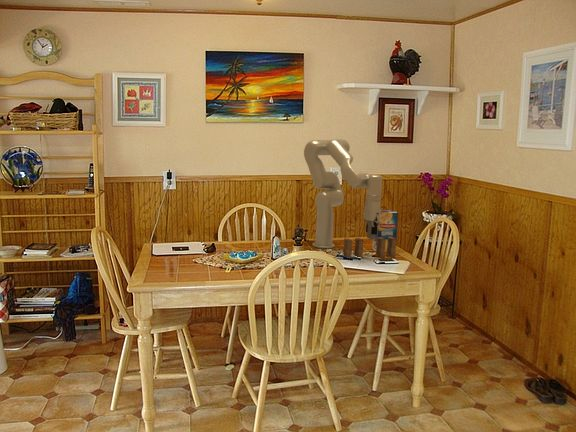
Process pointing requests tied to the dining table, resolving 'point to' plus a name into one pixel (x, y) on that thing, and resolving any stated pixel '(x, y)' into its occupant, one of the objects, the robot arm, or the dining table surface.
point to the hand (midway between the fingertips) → (371, 232)
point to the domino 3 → (370, 230)
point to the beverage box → (386, 227)
